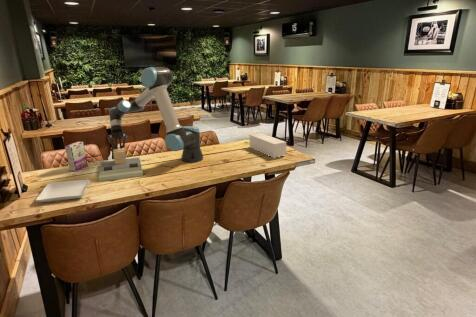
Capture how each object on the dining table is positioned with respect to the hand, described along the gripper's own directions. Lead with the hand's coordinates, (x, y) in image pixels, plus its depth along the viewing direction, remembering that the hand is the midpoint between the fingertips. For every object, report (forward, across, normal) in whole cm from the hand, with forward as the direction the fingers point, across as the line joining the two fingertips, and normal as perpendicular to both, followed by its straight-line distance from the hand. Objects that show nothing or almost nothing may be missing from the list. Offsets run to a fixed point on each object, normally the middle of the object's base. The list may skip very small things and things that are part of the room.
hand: (119, 156), depth 199 cm
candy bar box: (+4, +25, -3) cm, 26 cm away
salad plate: (+33, +27, +26) cm, 50 cm away
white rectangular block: (+13, -103, +6) cm, 104 cm away
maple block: (+6, 0, +3) cm, 6 cm away
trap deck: (+14, 0, +7) cm, 16 cm away
